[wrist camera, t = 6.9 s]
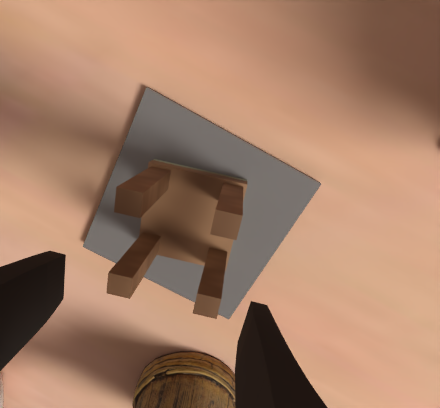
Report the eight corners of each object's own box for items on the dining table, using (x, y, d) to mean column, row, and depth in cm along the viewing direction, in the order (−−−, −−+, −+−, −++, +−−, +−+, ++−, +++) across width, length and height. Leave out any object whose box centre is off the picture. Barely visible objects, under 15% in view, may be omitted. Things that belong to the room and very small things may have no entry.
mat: (319, 182, 18) (321, 184, 17) (229, 314, 22) (228, 319, 21) (149, 87, 17) (146, 87, 16) (86, 243, 21) (82, 246, 20)
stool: (247, 180, 18) (248, 212, 12) (226, 261, 20) (219, 322, 14) (154, 158, 18) (112, 181, 12) (143, 242, 20) (102, 295, 14)
